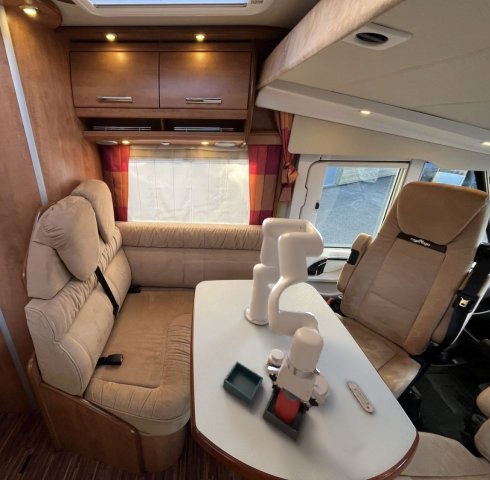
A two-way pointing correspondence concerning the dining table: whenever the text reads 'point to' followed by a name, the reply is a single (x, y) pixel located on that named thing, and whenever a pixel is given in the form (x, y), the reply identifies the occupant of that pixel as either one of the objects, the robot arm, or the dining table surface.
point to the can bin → (287, 428)
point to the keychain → (360, 397)
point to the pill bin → (243, 383)
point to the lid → (321, 386)
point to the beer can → (287, 406)
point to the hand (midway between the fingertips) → (289, 399)
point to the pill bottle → (275, 359)
